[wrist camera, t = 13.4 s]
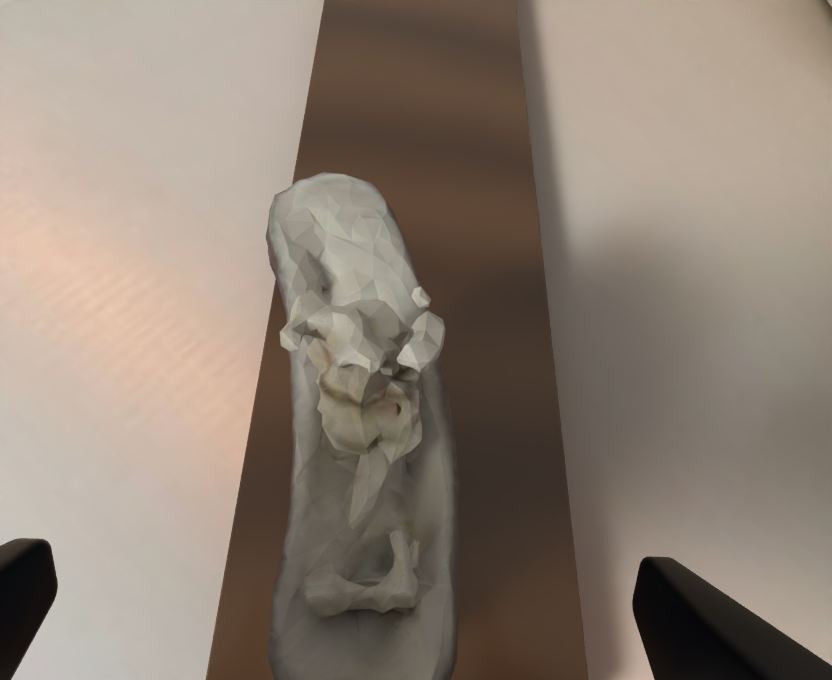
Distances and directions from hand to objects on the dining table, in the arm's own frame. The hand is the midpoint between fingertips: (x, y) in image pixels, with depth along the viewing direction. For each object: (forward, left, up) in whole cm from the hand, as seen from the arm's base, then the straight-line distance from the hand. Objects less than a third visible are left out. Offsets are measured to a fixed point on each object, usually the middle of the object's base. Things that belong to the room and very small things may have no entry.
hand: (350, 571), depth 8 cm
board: (+13, +11, -9) cm, 19 cm away
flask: (+2, +2, -8) cm, 8 cm away
